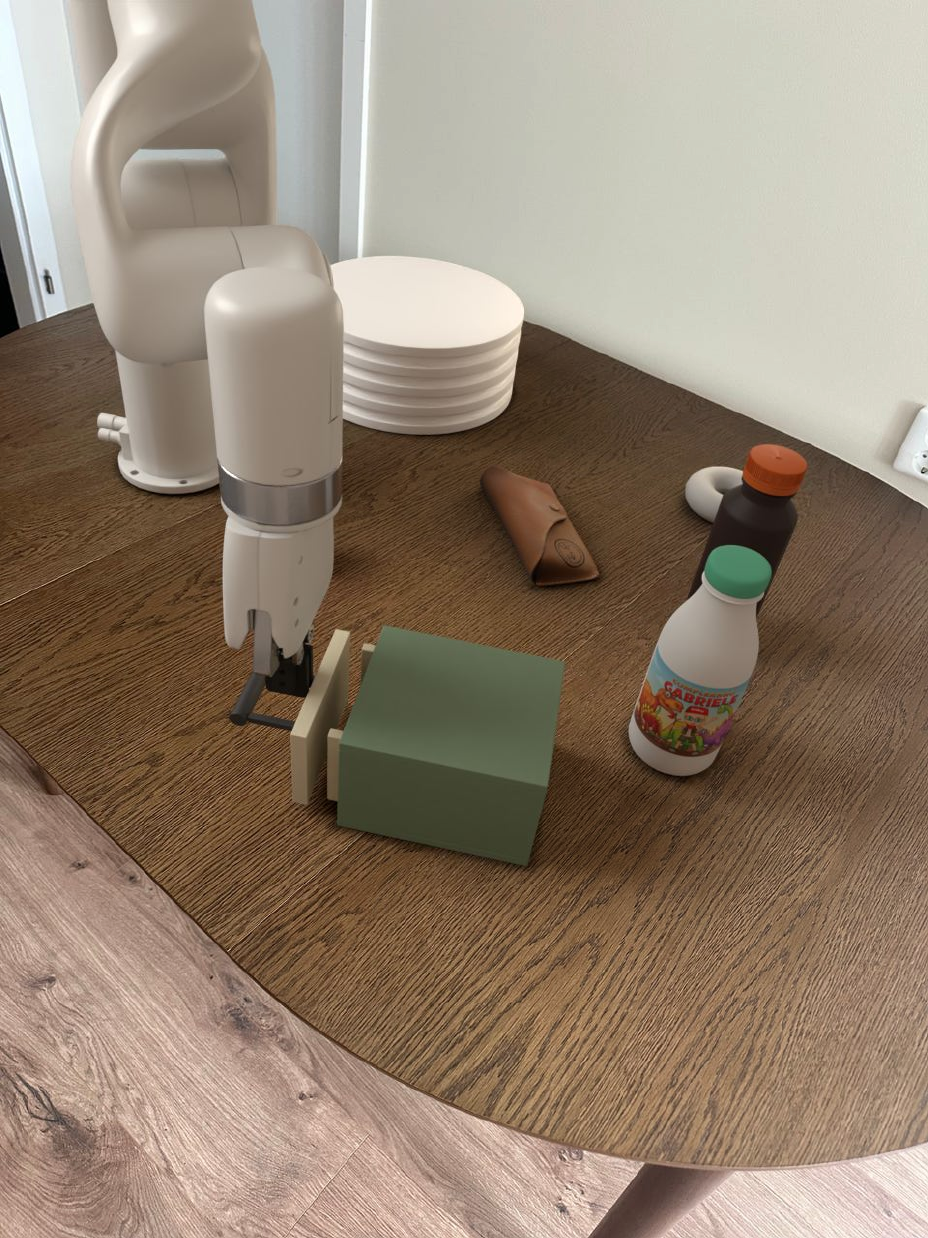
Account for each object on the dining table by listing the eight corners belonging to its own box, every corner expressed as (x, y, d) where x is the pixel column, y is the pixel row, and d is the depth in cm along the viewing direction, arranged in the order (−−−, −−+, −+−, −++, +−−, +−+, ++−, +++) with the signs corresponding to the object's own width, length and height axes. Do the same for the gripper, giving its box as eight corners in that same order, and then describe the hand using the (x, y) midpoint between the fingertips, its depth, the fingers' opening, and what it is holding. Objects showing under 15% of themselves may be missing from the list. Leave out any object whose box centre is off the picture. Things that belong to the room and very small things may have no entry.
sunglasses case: (606, 575, 94) (586, 534, 90) (546, 608, 95) (524, 569, 90) (545, 480, 107) (525, 439, 102) (493, 509, 108) (471, 470, 103)
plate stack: (393, 317, 137) (398, 240, 130) (550, 383, 126) (565, 303, 119) (258, 377, 119) (254, 291, 111) (427, 460, 108) (436, 371, 101)
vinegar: (665, 616, 91) (723, 443, 78) (720, 604, 94) (785, 433, 80) (703, 662, 87) (771, 486, 74) (760, 647, 89) (836, 474, 76)
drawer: (219, 786, 69) (211, 717, 64) (270, 682, 78) (266, 614, 73) (466, 839, 68) (478, 774, 63) (490, 728, 77) (502, 662, 71)
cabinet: (337, 825, 69) (338, 743, 62) (378, 707, 78) (383, 624, 72) (526, 867, 68) (548, 787, 61) (545, 741, 77) (565, 661, 71)
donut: (762, 543, 103) (769, 497, 110) (772, 519, 101) (779, 473, 108) (675, 519, 105) (688, 475, 112) (683, 495, 102) (695, 451, 110)
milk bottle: (618, 710, 81) (676, 528, 68) (701, 710, 82) (774, 531, 69) (637, 779, 75) (705, 595, 62) (726, 779, 76) (811, 598, 63)
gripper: (264, 414, 63) (274, 616, 74) (173, 535, 51) (203, 751, 63) (370, 432, 62) (363, 633, 74) (302, 559, 51) (307, 772, 63)
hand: (289, 687), depth 68 cm, fingers closed
